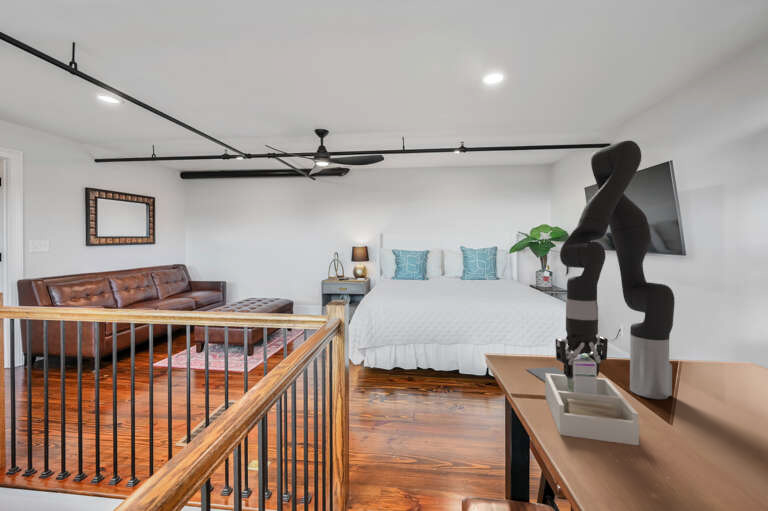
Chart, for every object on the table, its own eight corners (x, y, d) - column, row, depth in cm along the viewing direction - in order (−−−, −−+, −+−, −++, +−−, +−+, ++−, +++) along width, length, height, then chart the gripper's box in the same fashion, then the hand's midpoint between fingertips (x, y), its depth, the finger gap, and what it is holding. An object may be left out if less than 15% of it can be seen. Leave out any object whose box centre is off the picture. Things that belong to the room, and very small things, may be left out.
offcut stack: (563, 421, 87) (563, 398, 86) (617, 427, 83) (617, 403, 83) (567, 432, 82) (567, 407, 81) (625, 439, 78) (625, 414, 78)
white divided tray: (545, 396, 101) (545, 373, 100) (607, 402, 96) (607, 378, 96) (559, 434, 81) (559, 405, 80) (638, 445, 76) (639, 414, 76)
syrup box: (597, 416, 89) (598, 361, 88) (573, 414, 90) (573, 360, 89) (589, 406, 94) (589, 354, 94) (566, 404, 96) (566, 353, 95)
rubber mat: (554, 368, 123) (554, 366, 123) (575, 380, 112) (575, 378, 112) (526, 370, 122) (526, 368, 122) (545, 382, 111) (545, 381, 111)
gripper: (595, 311, 96) (594, 369, 97) (548, 314, 94) (548, 373, 95) (616, 317, 89) (616, 380, 89) (566, 320, 87) (566, 384, 87)
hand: (581, 376), depth 92 cm, fingers closed on syrup box, 7 cm apart
